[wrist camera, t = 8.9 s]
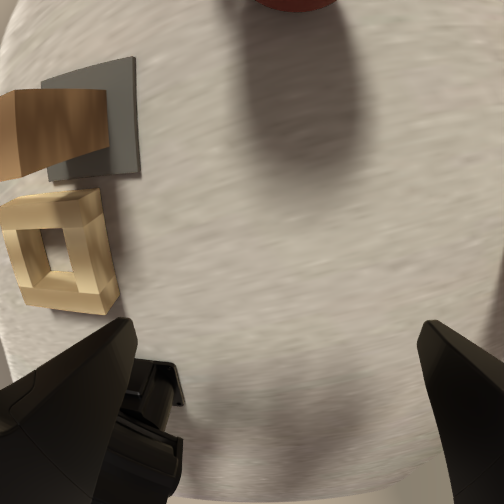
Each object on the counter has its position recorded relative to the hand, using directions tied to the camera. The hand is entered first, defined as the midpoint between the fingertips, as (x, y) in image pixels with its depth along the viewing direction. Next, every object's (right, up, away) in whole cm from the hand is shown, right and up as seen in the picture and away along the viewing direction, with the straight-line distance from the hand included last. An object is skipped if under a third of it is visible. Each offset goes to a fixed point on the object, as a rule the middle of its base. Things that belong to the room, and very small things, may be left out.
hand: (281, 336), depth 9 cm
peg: (-12, +11, +9) cm, 19 cm away
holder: (-16, +3, +14) cm, 22 cm away
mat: (-12, +12, +10) cm, 20 cm away
